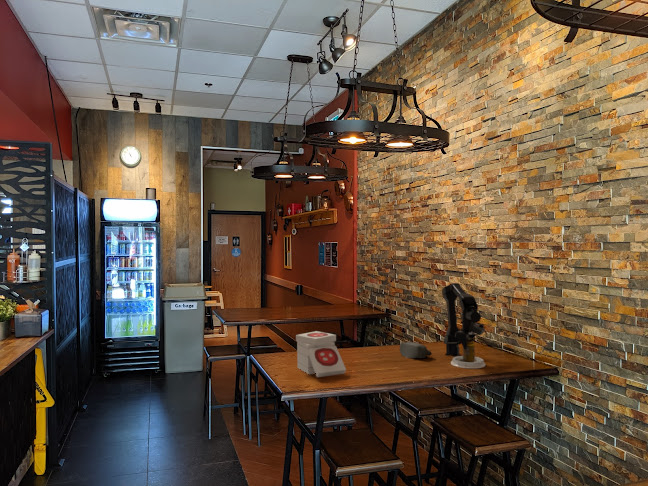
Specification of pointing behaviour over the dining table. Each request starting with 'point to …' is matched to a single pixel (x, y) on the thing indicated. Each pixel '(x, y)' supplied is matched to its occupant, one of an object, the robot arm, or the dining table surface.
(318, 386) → the dining table surface
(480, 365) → the collar plate
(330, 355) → the pizza box stack
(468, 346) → the condiment
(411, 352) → the grey rounded jug
